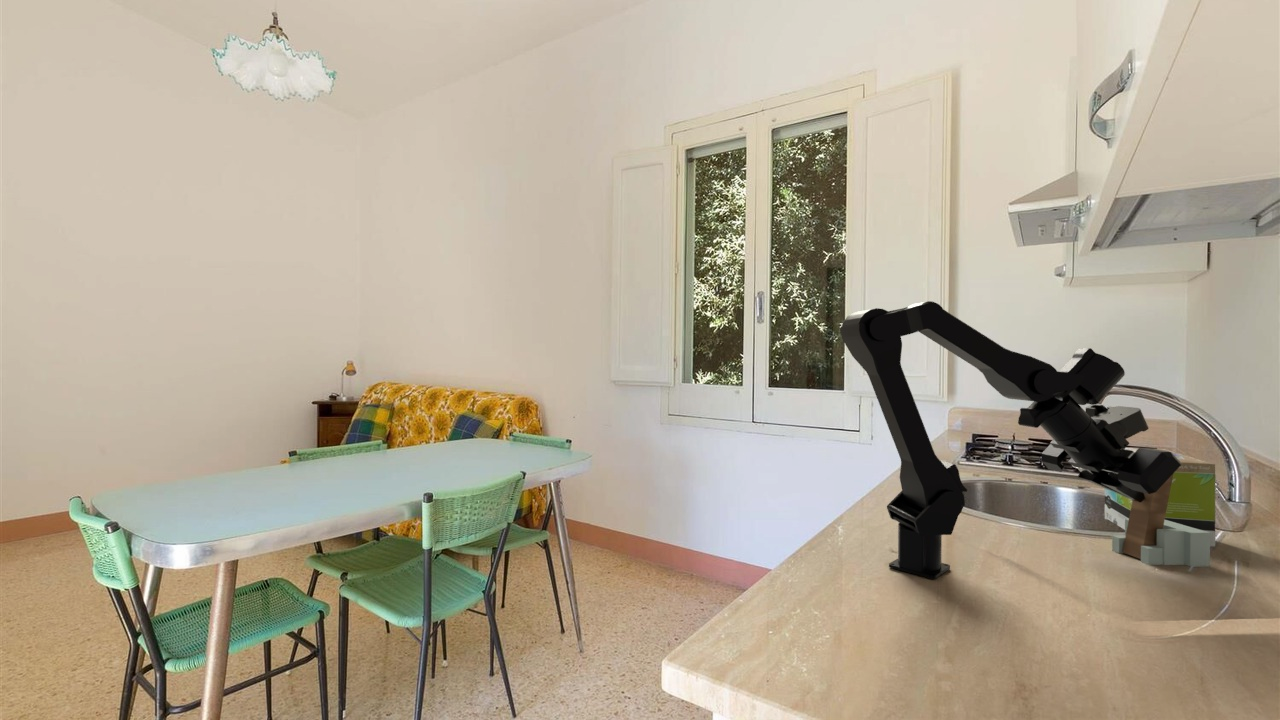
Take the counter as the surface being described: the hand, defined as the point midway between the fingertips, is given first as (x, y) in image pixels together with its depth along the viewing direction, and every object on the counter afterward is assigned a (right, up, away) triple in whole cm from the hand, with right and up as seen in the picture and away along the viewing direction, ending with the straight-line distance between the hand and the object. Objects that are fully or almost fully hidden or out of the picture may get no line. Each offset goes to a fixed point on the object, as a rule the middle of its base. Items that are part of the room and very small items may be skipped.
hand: (1140, 499), depth 87 cm
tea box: (+14, -10, +14) cm, 22 cm away
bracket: (+2, -10, 0) cm, 10 cm away
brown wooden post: (0, -9, 0) cm, 9 cm away
